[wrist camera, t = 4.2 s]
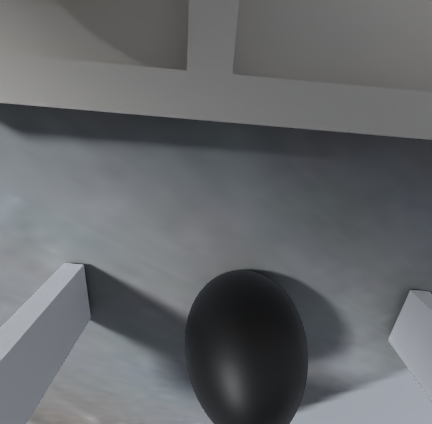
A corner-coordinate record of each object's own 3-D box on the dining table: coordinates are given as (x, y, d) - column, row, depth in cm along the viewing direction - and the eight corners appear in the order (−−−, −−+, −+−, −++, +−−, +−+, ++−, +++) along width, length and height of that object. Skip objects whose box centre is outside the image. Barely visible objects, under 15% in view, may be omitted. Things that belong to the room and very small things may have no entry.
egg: (280, 245, 10) (333, 368, 5) (295, 324, 11) (347, 473, 7) (178, 267, 10) (146, 399, 6) (205, 340, 12) (196, 491, 7)
